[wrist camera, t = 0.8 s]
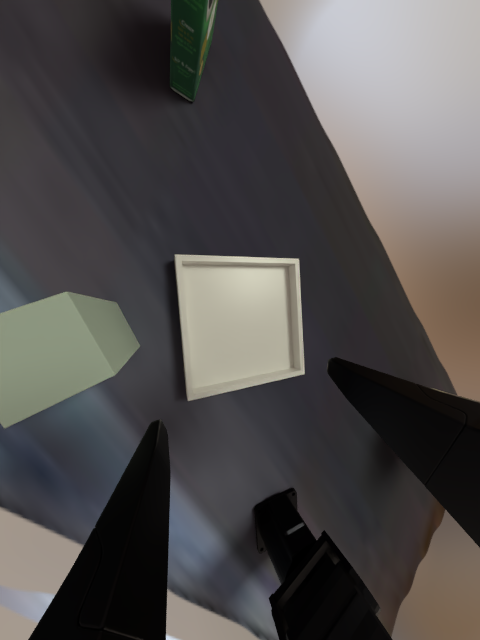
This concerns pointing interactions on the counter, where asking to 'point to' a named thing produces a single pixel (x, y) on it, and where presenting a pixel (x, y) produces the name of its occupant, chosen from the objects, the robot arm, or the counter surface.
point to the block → (58, 351)
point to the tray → (238, 321)
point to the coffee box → (190, 43)
